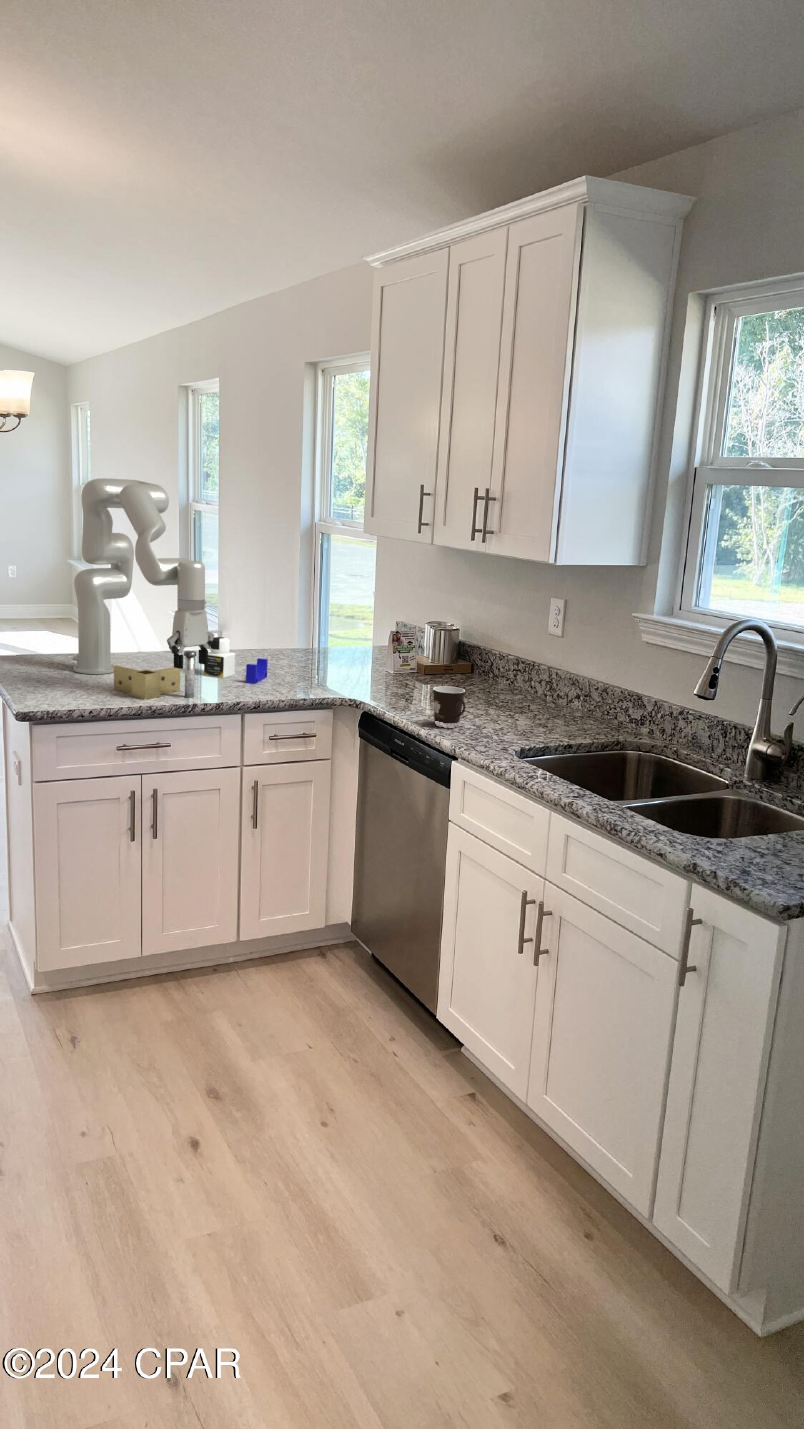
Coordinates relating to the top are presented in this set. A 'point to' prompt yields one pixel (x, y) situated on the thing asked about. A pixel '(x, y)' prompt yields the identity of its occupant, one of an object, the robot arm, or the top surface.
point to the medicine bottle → (220, 659)
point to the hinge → (146, 681)
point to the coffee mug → (448, 704)
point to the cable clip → (256, 671)
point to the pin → (189, 673)
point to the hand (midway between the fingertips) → (191, 666)
